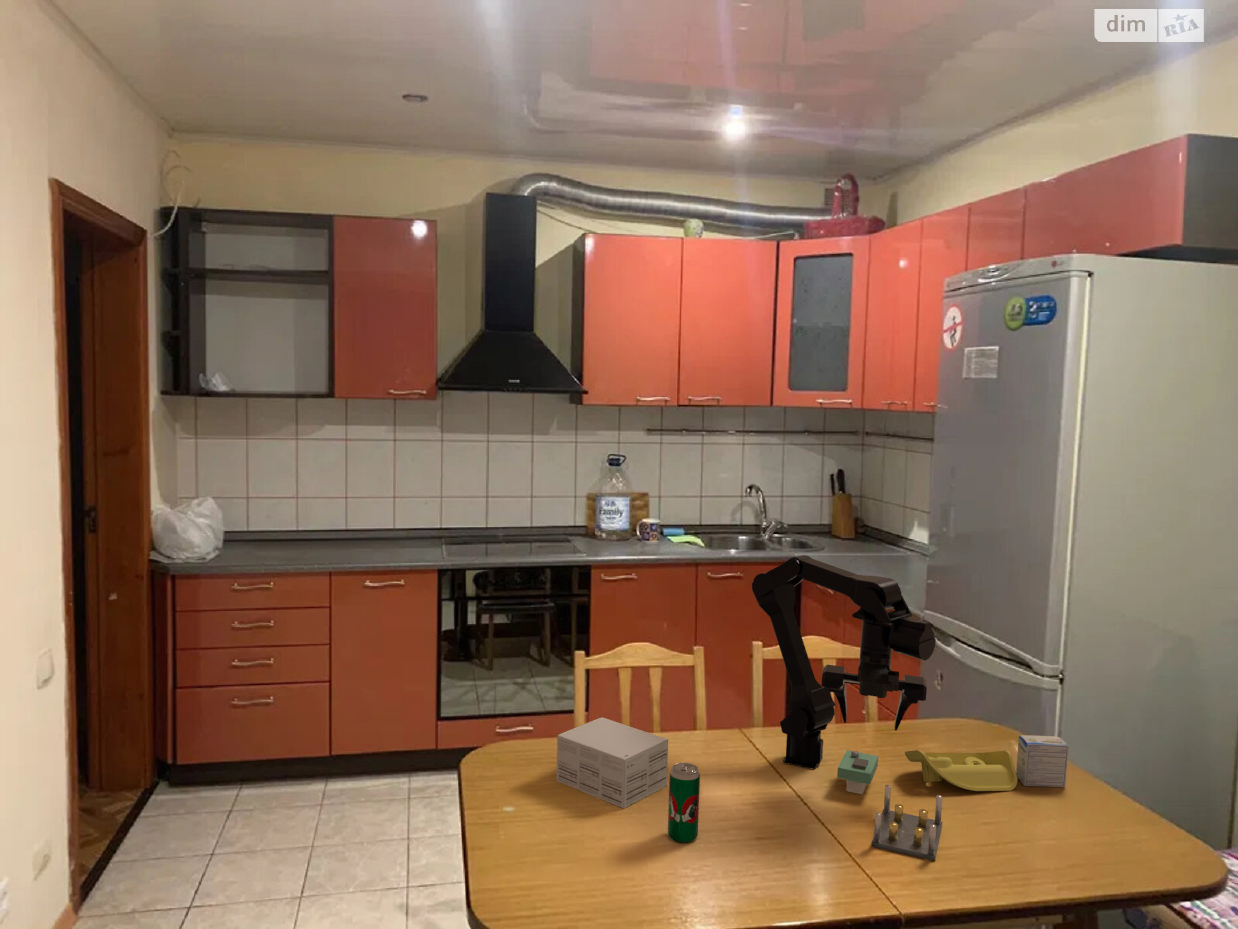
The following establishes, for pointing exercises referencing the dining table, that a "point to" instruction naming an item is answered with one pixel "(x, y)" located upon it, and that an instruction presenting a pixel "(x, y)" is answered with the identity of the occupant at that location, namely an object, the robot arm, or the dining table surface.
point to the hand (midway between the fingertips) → (870, 726)
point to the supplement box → (612, 761)
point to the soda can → (683, 802)
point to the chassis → (907, 830)
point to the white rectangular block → (855, 787)
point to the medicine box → (1042, 761)
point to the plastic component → (968, 769)
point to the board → (857, 767)
